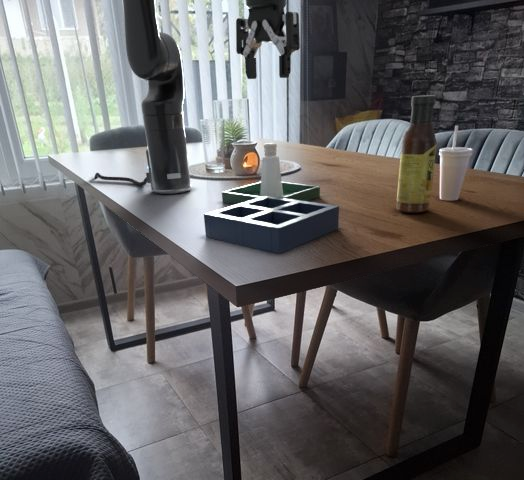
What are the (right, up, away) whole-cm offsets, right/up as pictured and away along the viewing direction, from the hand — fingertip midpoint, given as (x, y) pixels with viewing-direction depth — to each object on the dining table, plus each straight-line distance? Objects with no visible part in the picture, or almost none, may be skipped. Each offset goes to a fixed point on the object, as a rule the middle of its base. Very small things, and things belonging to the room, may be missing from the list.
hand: (267, 78), depth 96 cm
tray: (+1, -21, +11) cm, 24 cm away
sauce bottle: (+28, -27, -2) cm, 39 cm away
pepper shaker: (+1, -21, +11) cm, 23 cm away
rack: (+1, -34, -12) cm, 36 cm away
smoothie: (+38, -23, +5) cm, 45 cm away
